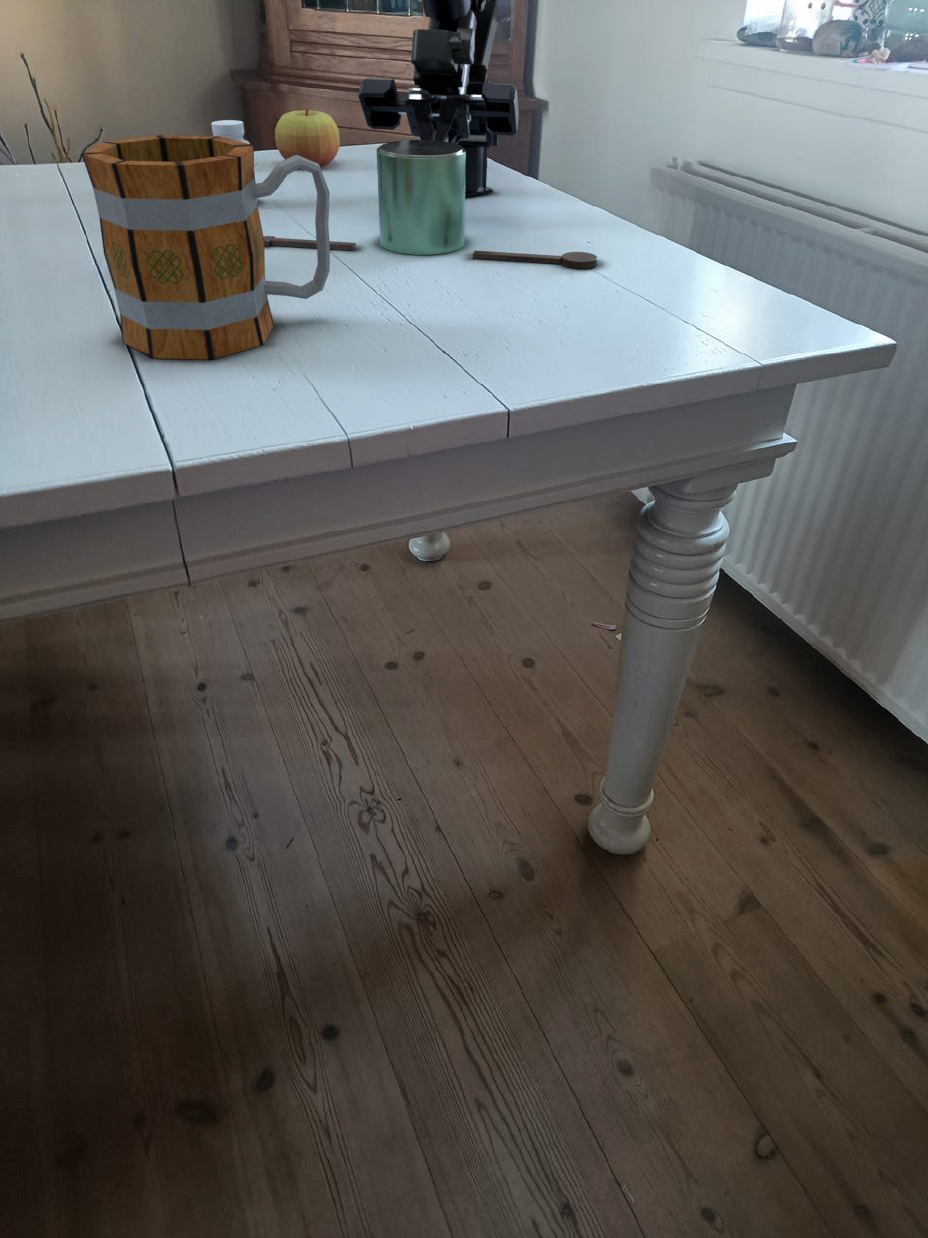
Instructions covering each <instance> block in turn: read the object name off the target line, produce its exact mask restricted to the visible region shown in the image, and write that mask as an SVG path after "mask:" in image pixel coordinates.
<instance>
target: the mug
mask: <svg viewBox="0 0 928 1238" xmlns="http://www.w3.org/2000/svg"><path fill="white" fill-rule="evenodd" d="M81 157H82V160H83V163H84V165H85V169H86V171H87V172H86V173H87V174H88V177H89V180H90V183H91V186H92V190H93V194H94V199H95V204H96V208H97V209H96V210H97V213H98V219H99V225H100V232H101V243H102V249H103V250H102V251H103V256H104V259H105V262H106V265H107V268H108V272H109V275H110V279H111V283H112V285H113V288H114V289H113V290H114V293H115V297H116V302H117V307H118V312H119V319H120V329H121V330H120V331H121V341H122V343H123V344H125V345H127V346H128V347H131V348H132V349H133V350H136V351H137V352H139V353H141V354H143V355H145V356H147V357H148V358H150V359H167V360H169V359H170V360H171V359H172V360H215V359H219V358H223V357H226V356H229V355H233V354H237V353H240V352H244V351H246V350H250V349H254V348H257V347H261V346H264V344H265V342H266V340H267V339H268V337H269V335H270V333H271V332H272V329H273V328H274V325H275V324H274V319H273V315H272V310H271V306H270V302H269V299H268V295H269V296H270V295H271V296H282V297H291V298H297V299H304V300H308V299H309V298H311V297H313V296H314V295H317V294H319V293H320V292H322V291H323V290H324V287H325V285H326V282H327V279H328V277H329V274H330V271H331V249H330V243H329V241H330V230H329V229H330V228H329V227H330V226H329V221H330V219H329V218H330V189H329V187H328V183H327V181H326V179H325V176H324V174H323V171H322V169H321V168H322V167H320V166H319V164H318V163H315V162H313V161H310V160H308V159H305V158H303V157H301V156H298V155H294V156H292V157H290V158H288V159H286V160H285V159H283V160H282V161H279V162H278V163H277V164H275V167H274V168H273V169H272V171H271V172H270V173H269V174H268V176H267V177H266V178H265V179H264V180H263V181H262V182H256V181H255V182H256V184H255V182H254V174H255V145H254V144H251V143H250V144H248V143H244V142H240V141H236V140H232V139H228V138H224V137H220V136H213V135H168V134H167V135H166V134H165V135H163V134H159V135H152V136H151V135H150V136H142V137H135V138H134V137H133V138H126V139H118V140H109V141H102V142H100V143H99V144H97V145H95V146H94V147H92V148H90V149H88V150H86V151H84V152H82V153H81ZM299 169H300V170H303V171H306V172H308V173H310V174H311V176H312V179H313V183H314V186H315V191H316V202H315V203H316V205H315V207H316V208H315V219H314V224H315V225H314V226H315V240H316V241H317V248H316V254H317V255H316V256H317V257H316V258H317V259H316V260H317V265H316V268H315V271H314V274H313V277H312V280H310V281H308V282H307V283H305V284H303V285H298V284H294V283H289V282H287V281H275V280H266V268H265V264H266V263H265V262H266V261H265V256H266V255H265V246H264V237H265V236H264V232H263V227H262V222H261V218H260V212H259V207H258V201H257V199H256V198H258V199H261V198H266V197H270V196H272V195H273V194H274V193H275V192H276V191H277V190H278V189H279V188H280V186H281V185H282V183H283V182H284V180H285V179H286V178H287V176H288V175H290V174H292V173H293V172H295V171H297V170H299Z"/></svg>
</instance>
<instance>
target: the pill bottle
mask: <svg viewBox="0 0 928 1238" xmlns="http://www.w3.org/2000/svg"><path fill="white" fill-rule="evenodd" d="M211 130H212V136H220V137H224V138H228V139H232V140H236V141H240V142H244V143H248V144H251V142H249V140H246V139H244V135H245V127H244V122H243V121H241V120H237V119H236V120H235V119H223V120H215V121H212V122H211ZM255 176H256V175H255V173H254V182H255V184H257V182H256V177H255ZM256 199H257V202H258V199H259V198H256Z"/></svg>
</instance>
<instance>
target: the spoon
mask: <svg viewBox="0 0 928 1238" xmlns="http://www.w3.org/2000/svg"><path fill="white" fill-rule="evenodd" d="M472 259H476V260H490V261H503V262H504V261H507V262H519V263H520V262H522V263H536V264H537V263H538V264H552V265H561V266H563V267H566V268H569V269H574V270H587V269H593V268H596V267H597V266H598V259H599V258H598V256H597V255H596V254H594V253H592V252H591V253H590V252H586V251H570V252H569V251H568V252H565V253H563V254H562V255H555V254H553V255H552V254H536V253H524V252H523V253H520V252H505V251H489V250H477V249H476V250H474V251H473V253H472Z"/></svg>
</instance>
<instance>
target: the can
mask: <svg viewBox="0 0 928 1238" xmlns="http://www.w3.org/2000/svg"><path fill="white" fill-rule="evenodd" d="M376 170H377V171H376V172H377V173H376V174H377V195H378V198H377V199H378V220H379V224H378V225H379V244H380V245H381V247H382V248H383V249H385V250H387V251H390V252H394V253H397V254H404V255H413V256H414V255H415V256H431V255H432V256H433V255H443V254H448V253H452V252H455V251H458V250H461V249H462V248H463V247H464V246H465V239H466V238H465V234H466V233H465V229H466V197H465V170H466V150H465V149H464V148H463V147H462V146H460V145H458V144H455V143H450V142H444V141H434V140H421V139H407V140H396V141H390V142H389V141H388V142H386V143H383V144H381V145H379V146H378V147H377V148H376Z"/></svg>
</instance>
